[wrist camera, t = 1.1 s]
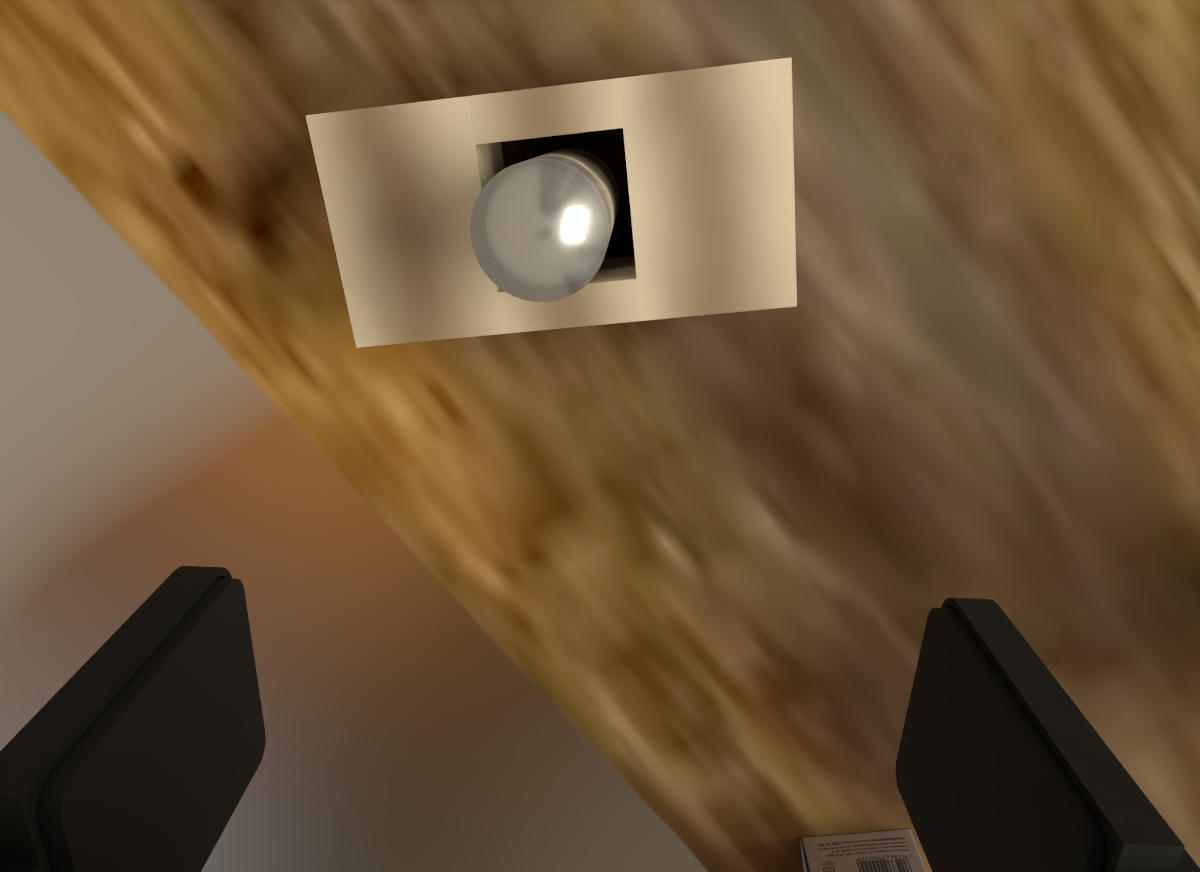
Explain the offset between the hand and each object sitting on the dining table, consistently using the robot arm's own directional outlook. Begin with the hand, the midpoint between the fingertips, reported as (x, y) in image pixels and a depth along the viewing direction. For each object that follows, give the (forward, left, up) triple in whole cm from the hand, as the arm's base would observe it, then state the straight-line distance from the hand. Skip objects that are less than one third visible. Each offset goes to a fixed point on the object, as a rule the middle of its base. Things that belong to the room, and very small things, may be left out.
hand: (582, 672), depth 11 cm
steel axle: (+2, -4, -29) cm, 29 cm away
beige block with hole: (+2, -4, -29) cm, 29 cm away
